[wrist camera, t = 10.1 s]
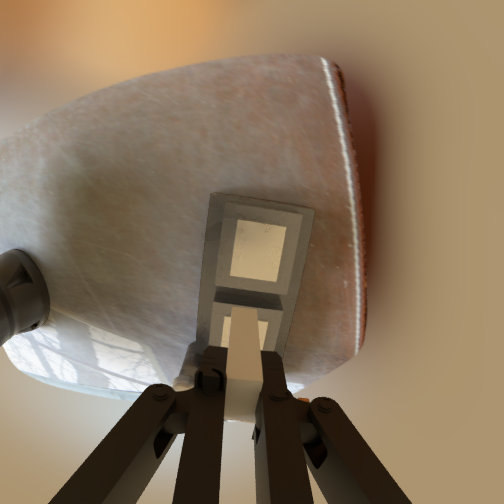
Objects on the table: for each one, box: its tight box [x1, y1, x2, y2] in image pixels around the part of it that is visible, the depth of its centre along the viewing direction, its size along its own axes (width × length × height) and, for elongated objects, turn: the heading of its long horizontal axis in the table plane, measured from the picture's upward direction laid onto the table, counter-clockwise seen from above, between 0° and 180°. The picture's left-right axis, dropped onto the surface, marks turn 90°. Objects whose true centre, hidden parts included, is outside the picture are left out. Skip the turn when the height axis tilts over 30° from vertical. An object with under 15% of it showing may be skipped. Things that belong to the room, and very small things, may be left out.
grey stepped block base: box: [179, 193, 315, 378], centre depth 33 cm, size 14×26×8 cm, turn 171°
